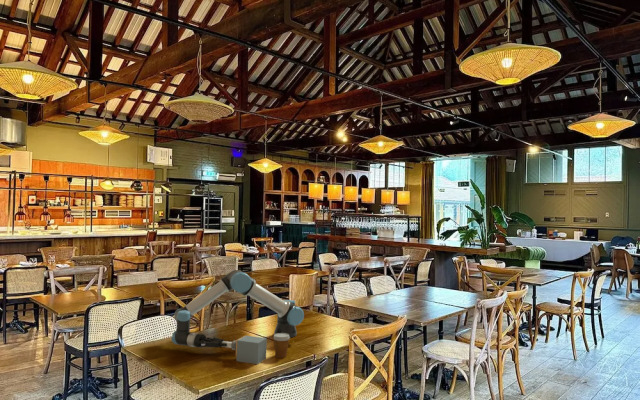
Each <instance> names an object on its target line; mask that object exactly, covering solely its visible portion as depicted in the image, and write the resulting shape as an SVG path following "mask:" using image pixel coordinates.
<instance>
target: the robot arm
mask: <svg viewBox="0 0 640 400" xmlns="http://www.w3.org/2000/svg"><path fill="white" fill-rule="evenodd" d="M232 290H233V291H234V292H236V293H239V294H241V295H243V296H244V297H247V296H248V297H250V298H252V299H253V300H256V301H257V302H258V303H260V304H262V305H263V306H265V307H267V308H268V309H270V310H271V311H273V312H275V313H277V316H276V317H277V323H276V326H275V327H274V328H275V329H274V331H273V335H274V334H277V333H286V334H289V337H290V338H294V337H297V334H298V332H297V327H296V326H298V325H300V324H301V323H302V322H303V320H304V318H305V314H304V310H303V309H302V308H301V307H300V306H297V305H296V301H295V299H294V300H293V299H282V298H280V297H278V296H277V295H275V294H273V293H272V292H271V291H269V290H268V289H266V288H264V287H263V286H261V285H260V284H258V283H257V282H256V279H255V278H253V277H251V276H250V275H248V274H247V273H246V272H244V271H242V270H240V269H234V270H232V271H229V272H228V273H227V274H226V275H224V276H223V277H221V278H220V279H219V281H218V282H217V283H216V284H214V285H213V286H211V287H210V288H209V289H207V290H206V291H204V292H203V293H202V294H200V295H199V296H197V297H196V298H194V299H193V300H192V301H190V302H189V303H187V304H185V305H184V306H183V307H182V308H178V309H176V310H175V312H174V314H173V315H174V316H173V317H174V320H175V322H176V328H175V329H176V330H175V331H173V333H172V335H171V342H172V343H173V345H179V346H188V347H191V348H200V349H201V348H219V349H222V347H223V348H230V349H231V344H232V342H233V341H226V340H225V339H223V338H218V337H215V336H212V337H206V335H205V334H204V333H197V332H190V326H191V318H192V317H193V316H194V315H196V314H198V312H199V311H201V310H203V309H204V308H205V307H207V306H208V305H209V304H211V303H213V302H214V301H215V300H216V299H218V298H219V297H220V296H222V295H224V294H225V293H226V292H227V293H228V292H231V291H232Z"/></svg>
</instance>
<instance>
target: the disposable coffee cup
mask: <svg viewBox="0 0 640 400" xmlns="http://www.w3.org/2000/svg"><path fill="white" fill-rule="evenodd" d="M272 338H273V343H274V344H273V345H274V354H275V357H276V358H279V359H283V358H286V357H287V353H288V349H289V348H288V347H289V343H290V342H289V341H290V339H291V337H289V334H286V333H277V334H274V333H273V337H272Z"/></svg>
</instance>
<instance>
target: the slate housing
mask: <svg viewBox="0 0 640 400" xmlns="http://www.w3.org/2000/svg"><path fill="white" fill-rule="evenodd" d="M235 341H236V350H235V359H236V362H240V363H246V364H254V365H259V364H260V363H262V362H263V361H265V360H266V359H267V345H268V344H267V342H268V341H267V337H262V336H261V337H260V336H258V337H257V336H253V335H243V336H242V337H240V338H237V339H236V340H235Z"/></svg>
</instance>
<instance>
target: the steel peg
mask: <svg viewBox="0 0 640 400" xmlns="http://www.w3.org/2000/svg"><path fill="white" fill-rule="evenodd" d="M231 342H232V344H231V348H230V349H231V350H232V351H236V340H235V339H234V340H233V341H231Z"/></svg>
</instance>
